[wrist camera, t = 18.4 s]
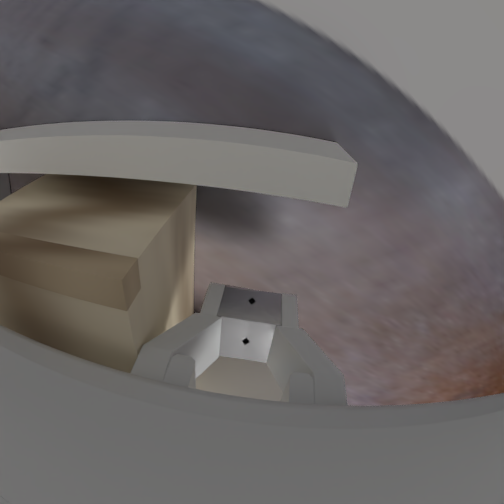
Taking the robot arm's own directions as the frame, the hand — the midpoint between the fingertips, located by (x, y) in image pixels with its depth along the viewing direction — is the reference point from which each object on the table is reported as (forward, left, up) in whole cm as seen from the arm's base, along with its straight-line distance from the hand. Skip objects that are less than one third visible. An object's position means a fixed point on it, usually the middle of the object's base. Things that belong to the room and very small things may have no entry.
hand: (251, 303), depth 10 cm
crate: (+6, 0, -2) cm, 6 cm away
